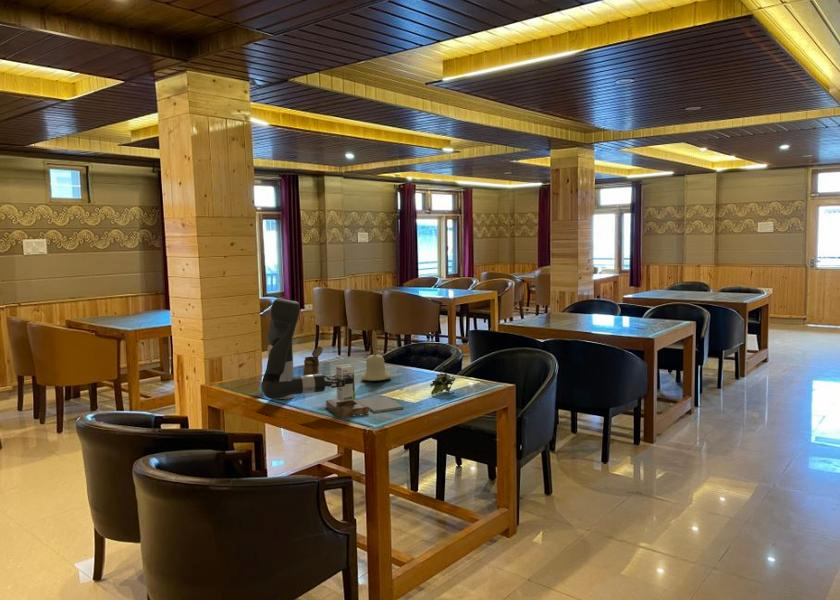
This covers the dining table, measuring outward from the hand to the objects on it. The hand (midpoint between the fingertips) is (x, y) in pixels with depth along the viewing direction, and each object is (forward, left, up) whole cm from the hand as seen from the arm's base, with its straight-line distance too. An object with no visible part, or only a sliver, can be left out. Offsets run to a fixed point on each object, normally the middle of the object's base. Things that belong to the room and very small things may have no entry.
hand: (350, 378), depth 268 cm
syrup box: (-2, 0, -9) cm, 9 cm away
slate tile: (+13, 0, -13) cm, 18 cm away
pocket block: (-2, 0, -13) cm, 13 cm away
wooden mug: (+2, +68, -13) cm, 69 cm away
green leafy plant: (+45, +4, -13) cm, 47 cm away
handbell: (+29, +48, -13) cm, 57 cm away
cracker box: (-16, +67, -13) cm, 70 cm away
